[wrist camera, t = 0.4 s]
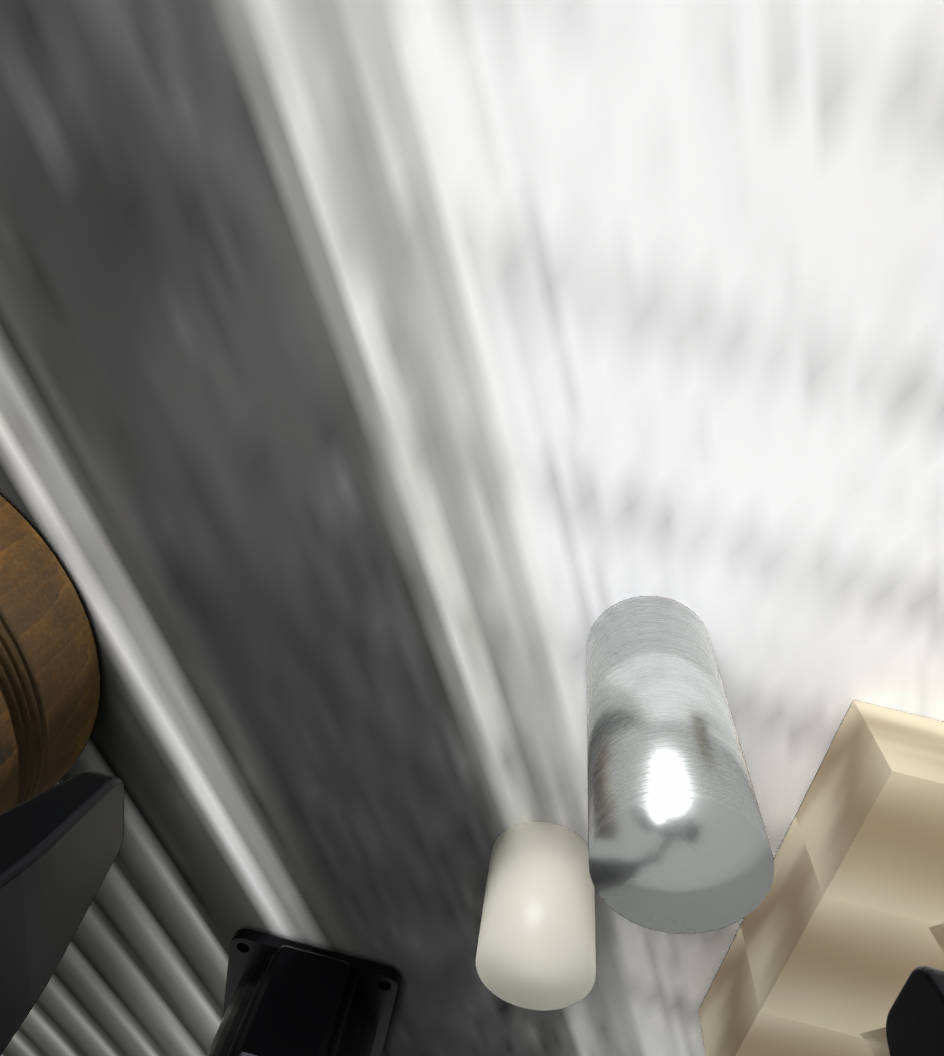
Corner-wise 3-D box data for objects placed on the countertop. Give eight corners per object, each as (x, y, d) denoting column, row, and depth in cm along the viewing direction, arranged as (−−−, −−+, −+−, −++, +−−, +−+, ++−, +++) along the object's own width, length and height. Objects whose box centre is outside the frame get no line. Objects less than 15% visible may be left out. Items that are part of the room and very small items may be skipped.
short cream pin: (579, 910, 26) (578, 1022, 23) (481, 884, 27) (465, 992, 23) (606, 836, 25) (610, 944, 21) (502, 810, 25) (488, 912, 22)
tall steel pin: (688, 711, 23) (738, 952, 15) (573, 683, 23) (569, 908, 16) (727, 612, 21) (802, 825, 14) (604, 583, 21) (616, 778, 14)
